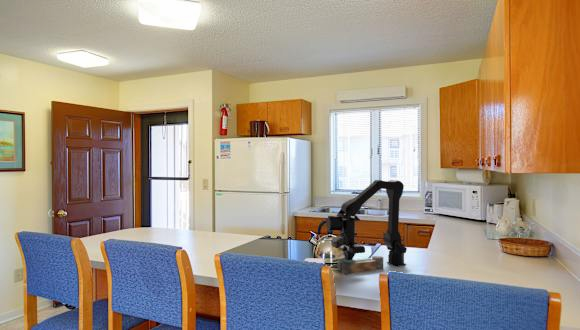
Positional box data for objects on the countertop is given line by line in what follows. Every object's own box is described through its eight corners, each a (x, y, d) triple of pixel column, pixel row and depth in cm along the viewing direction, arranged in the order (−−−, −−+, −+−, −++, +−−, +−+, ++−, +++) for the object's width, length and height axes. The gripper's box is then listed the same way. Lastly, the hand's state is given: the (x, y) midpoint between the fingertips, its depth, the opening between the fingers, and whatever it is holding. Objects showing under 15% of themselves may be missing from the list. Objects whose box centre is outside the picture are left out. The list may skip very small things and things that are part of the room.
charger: (301, 278, 159) (304, 268, 173) (323, 278, 157) (324, 268, 172) (301, 266, 159) (304, 258, 173) (323, 267, 157) (324, 258, 172)
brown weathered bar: (368, 266, 174) (368, 257, 174) (371, 267, 172) (371, 259, 172) (337, 269, 169) (337, 260, 169) (340, 271, 166) (340, 262, 166)
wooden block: (379, 266, 176) (379, 255, 176) (386, 269, 170) (386, 258, 170) (338, 271, 168) (338, 260, 168) (345, 274, 162) (344, 263, 162)
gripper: (323, 227, 178) (323, 260, 178) (343, 235, 161) (343, 271, 161) (344, 226, 182) (343, 259, 182) (366, 233, 165) (365, 269, 165)
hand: (348, 264), depth 172 cm, fingers closed
